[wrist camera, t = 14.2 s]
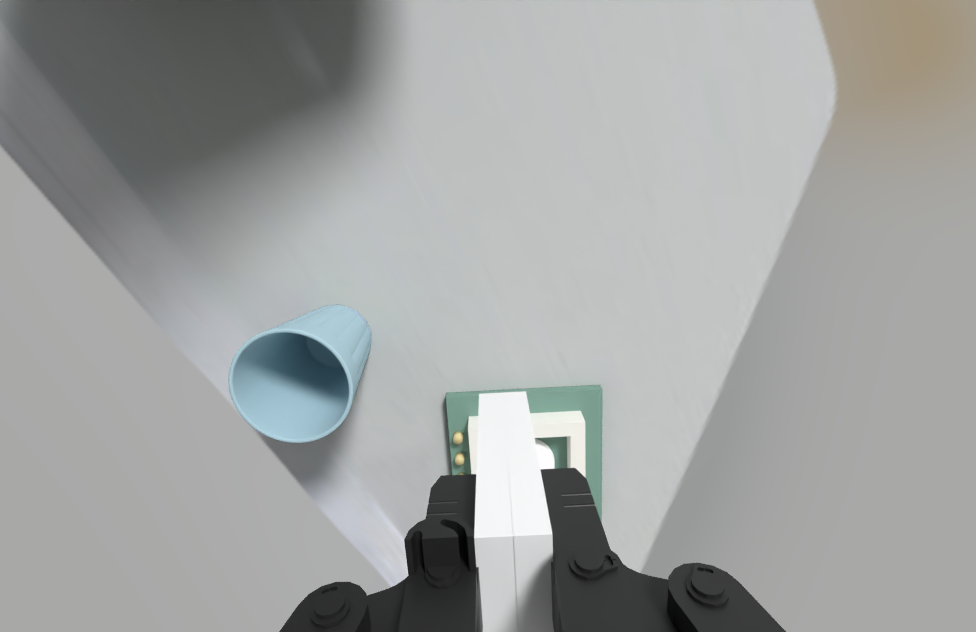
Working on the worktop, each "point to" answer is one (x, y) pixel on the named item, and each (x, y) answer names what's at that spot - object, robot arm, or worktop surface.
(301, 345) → the cup
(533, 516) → the robot arm
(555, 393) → the header board
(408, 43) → the worktop surface
